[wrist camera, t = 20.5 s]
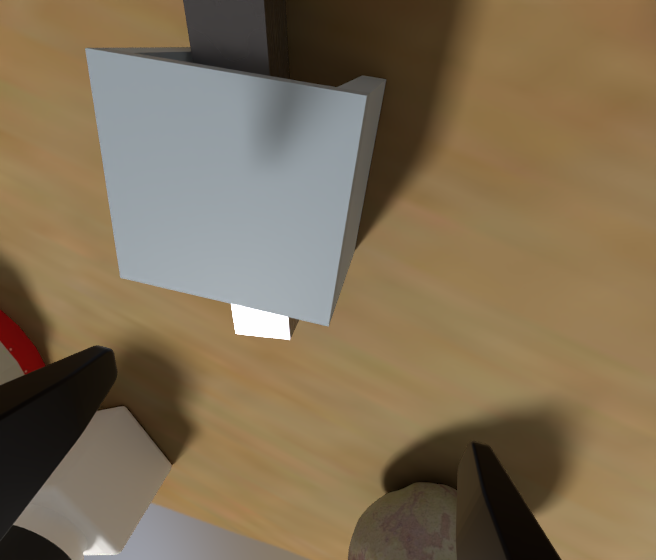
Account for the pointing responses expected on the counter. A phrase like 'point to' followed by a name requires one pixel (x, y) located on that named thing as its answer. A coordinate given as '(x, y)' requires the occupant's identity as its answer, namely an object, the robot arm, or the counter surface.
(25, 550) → the light grey rectangular box
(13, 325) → the kitchen timer
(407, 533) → the grey rounded lump
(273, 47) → the bar
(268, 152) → the tunnel
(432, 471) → the counter surface
